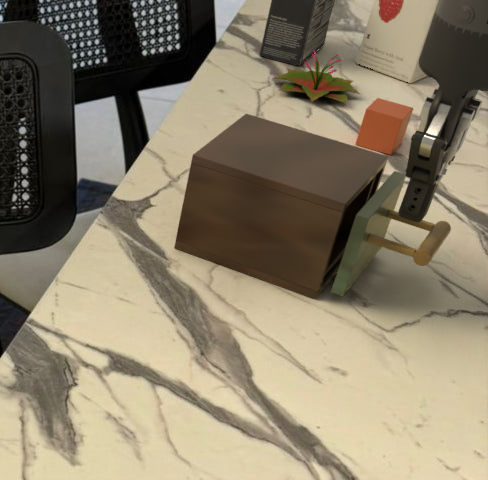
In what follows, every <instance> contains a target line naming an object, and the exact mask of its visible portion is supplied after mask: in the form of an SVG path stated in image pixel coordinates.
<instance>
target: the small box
mask: <svg viewBox="0 0 488 480" xmlns="http://www.w3.org/2000/svg"><path fill="white" fill-rule="evenodd" d="M335 2H336V0H271V1H270V5H269V8H268V9H269V10H268V14H267V19H266V23H265V27H264V33H263V36H262V41H261V46H260V50H259V55H260V56H259V57H262V56H264V57H263V58H266V57H268V58H267V59H269V58H270V60H273V59H274V61H277V62H281V61H282V62H281V63H286V64H288V63H290V64H289V65H292V64H295V65H294V66H296V65H298V66H297V67H301V66H302V65H304V64H305V61H306V60H307V59H308V60H309V59H311V58H312V57H313V56H312V54H314V52H313V51H315V52H316V51H317V50H318V49H320V48H321V47H322V46H323V45H324V46H325V42H326V38H327V34H328V30H329V29H328V28H329V25H330V21H331V18H332V12H333V8H334V5H335ZM324 46H323V47H324ZM323 47H322V48H323ZM322 48H321V49H322ZM321 49H320V50H321ZM317 52H318V51H317ZM317 52H316V53H317ZM314 55H315V54H314ZM311 56H312V57H311ZM308 60H307V61H308ZM307 61H306V62H307Z"/></svg>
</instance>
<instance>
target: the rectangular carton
mask: <svg viewBox="0 0 488 480" xmlns="http://www.w3.org/2000/svg"><path fill="white" fill-rule="evenodd" d="M438 1H439V0H373V4H372V7H371V10H370V13H369V16H368V20H367V23H366V26H365V30H364V33H363V36H362V40H361V43H360V47H359V50H358V53H357V57H356V60H355V64H356V63H357V64H356V65H359V64H360V65H359V66H362V67H364V66H365V67H364V68H367V67H368V68H367V69H370V68H371V69H370V70H372V69H373V71H375V72H377V73H380V74H384V75H386V76H389V77H392V78H395V79H397V80H398V81H399V80H400V81H402V82H405V83H407V82H408V84H413V83H415V82H417V81H419V80H421V79H422V80H423V79H425V78H426V77H428V76H427V75H426V74H425V73H423V72H422V70H421V69H420V67H419V58H420V55H421V52H422V49H423V46H424V43H425V40H426V37H427V34H428V31H429V28H430V25H431V22H432V19H433V16H434V13H435V10H436V7H437V4H438Z"/></svg>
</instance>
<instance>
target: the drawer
mask: <svg viewBox="0 0 488 480" xmlns="http://www.w3.org/2000/svg"><path fill="white" fill-rule="evenodd" d="M375 178H376V176H375V177H374V178H373V179H372V180H371V181H370V182H369V184H368V185H367V186H366V187H365V188H364V189H363V190H362V191H361V193H360V194H359V195H358V196H357V197H356V198H355V199H354V200H353V201H352V203H351V204H350V205H349V206H348V207H347V208H346V209H345V213H344V216H343V219H342V223H341V226H340V229H339V232H338V235H337V238H336V242H335V245H334V248H333V251H332V254H331V257H330V260H329V264H328V267H327V270H326V273H325V275H326V274H327V273H328V272H329V271H330V269H331V268H332V267H333V266H334V265H335V263H336V262H337V261H338V260H339V259H340V257H341V256H342V255H343V256H342V259H341V262H340V265H339V268H338V272H337V273H336V275H335V278H334V281H333V285H332V287H331V290H330V293H332V294H335V295H338V296H341V297H344V296H345V295H346V293H347V292H348V291H349V290H350V288H351V287H352V286H353V285H354V283H355V282H356V281H357V280H358V278H359V277H360V276H361V274H362V273H363V272H364V270H365V269H366V268H367V267H368V265H369V264H370V263H371V262H372V260H373V259H374V258H375V256H376V255H377V254H378V252H379V251H380V250H381V249H382V248H384V249H387V250H390V251H393V252H395V253H399V254H402V255H404V256H408V257H411V258H412V260H413V262H414V264H415V265H417V266H419V267H425V266H427V265H429V264H430V262H431V261H432V259H433V258H434V256H435V255H436V254H437V252H438V251H439V249H440V248H441V246H442V244H443V243H444V242H445V240H446V239H447V237H448V236H449V234H450V233H451V231H452V227H451V225H450V223H449V222H447V221H446V220H439V221H437V222H436V223H433V222H430V221H427V220H423V219H422V221H420V222H414V221H411V220H408V219H405V218H402V217H400V216H399V213H398V212H399V211H396V210H395V209H396V207H397V203H398V200H399V198H400V195H401V192H402V190H403V189H402V188H403V186H404V183H405V181H406V178H407V177H406V173H403V172H400V171H396V170H394V171H393V172H392V173H391V174H390V175H389V176H388V177H387V179H386V180H385V181H384V182H383V183H382V184H381V186H379V187H378V190H377V191H376V193H375V194H374V195H373V196H372V197H371V198H370V199H369V196H370V193H371V190H372V187H373V184H374V181H375ZM368 199H369V201H368ZM391 220H394V221H395V222H399V223H403V224H406V225H409V226H412V227H415V228H418V229H421V230H425V231H426V232H429V233H427V235H426V236H425V237H424V239H423V240H422V241H421V243H420V245H419V246H418V248H415V247H412V246H409V245H405V244H403V243H400V242H396V241H394V240H391V239H387V238H385V237H386V234H387V231H388V229H389V226H390V224H391ZM324 277H325V276H324Z"/></svg>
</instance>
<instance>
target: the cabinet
mask: <svg viewBox="0 0 488 480" xmlns="http://www.w3.org/2000/svg"><path fill="white" fill-rule="evenodd" d="M388 160H389V156H388V155H387V154H386V155H385V154H383V153H382V154H381V153H380V152H377V151H376V152H375V151H372V150H370V149H367V148H363V147H360V146H356V145H352V144H349V143H345V142H343V141H339V140H335V139H332V138H330V137H329V138H328V137H326V136H322V135H319V134H315V133H313V132H309V131H306V130H303V129H298V128H296V127H292V126H290V125H286V124H282V123H279V122H276V121H274V120H273V121H272V120H269V119H266V118H263V117H260V116H256V115H252V114H249V113H245V114H243V115H242V116H241V117H240V118H238V119H237V120H235V121H234V122H233V123H232V124H230V125H229V126H228V127H227V128H225V129H224V130H222V131H221V132H220V133H219V134H218V135H216V136H215V137H214V138H213V139H211V140H210V141H208V142H207V143H206V144H205V145H203V146H202V147H201V148H199V149H198V150H197V151H195V153H193V154H192V157H191V163H190V167H189V172H188V177H187V182H186V187H185V192H184V197H183V202H182V207H181V211H180V216H179V222H178V228H177V231H176V236H175V242H174V247H173V248H174V249H176V250H179V251H181V252H184V253H187V254H189V255H193V256H195V257H198V258H201V259H203V260H206V261H209V262H212V263H214V264H216V265H220V266H223V267H225V268H228V269H231V270H234V271H237V272H239V273H242V274H244V275H247V276H250V277H254V278H257V279H258V280H260V281H261V280H262V281H264V282H267V283H269V284H273V285H275V286H278V287H280V288H283V289H286V290H288V291H291V292H294V293H297V294H300V295H303V296H306V297H308V298H310V299H313V300H316V299H317V298H318V297H319V296H320V294H321V293H322V292H323V290H325V288H326V287H327V286H328V285H329V283H330V282H332V280H333V278H334V277H336V275H337V272H338V268H339V265H340V262H341V259H342V256H343V255H342V256H341V257H340V259H339V260H338V261H337V262H336V263H335V265H334V266H333V267H332V268H331V269H330V271H329V272H328V273H327V274H326V275H325V273H326V270H327V267H328V264H329V260H330V257H331V254H332V251H333V248H334V245H335V242H336V238H337V235H338V232H339V229H340V226H341V223H342V219H343V216H344V213H345V209H346V208H347V207H348V206H349V205H350V204H351V203H352V201H353V200H354V199H355V198H356V197H357V196H358V195H359V194H360V193H361V191H362V190H363V189H364V188H365V187H366V186H367V185H368V184H369V182H370V181H371V180H372V179H373V178H374V177H375V176H376V178H375V181H374V184H373V187H372V190H371V193H370V196H369V199H370V198H371V197H372V196H373V195H374V194H375V193H376V191H377V190H378V189H379V188H380V184H381V181H382V178H383V175H384V172H385V169H386V166H387V163H388ZM369 199H368V201H369ZM324 276H325V277H324Z"/></svg>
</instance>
